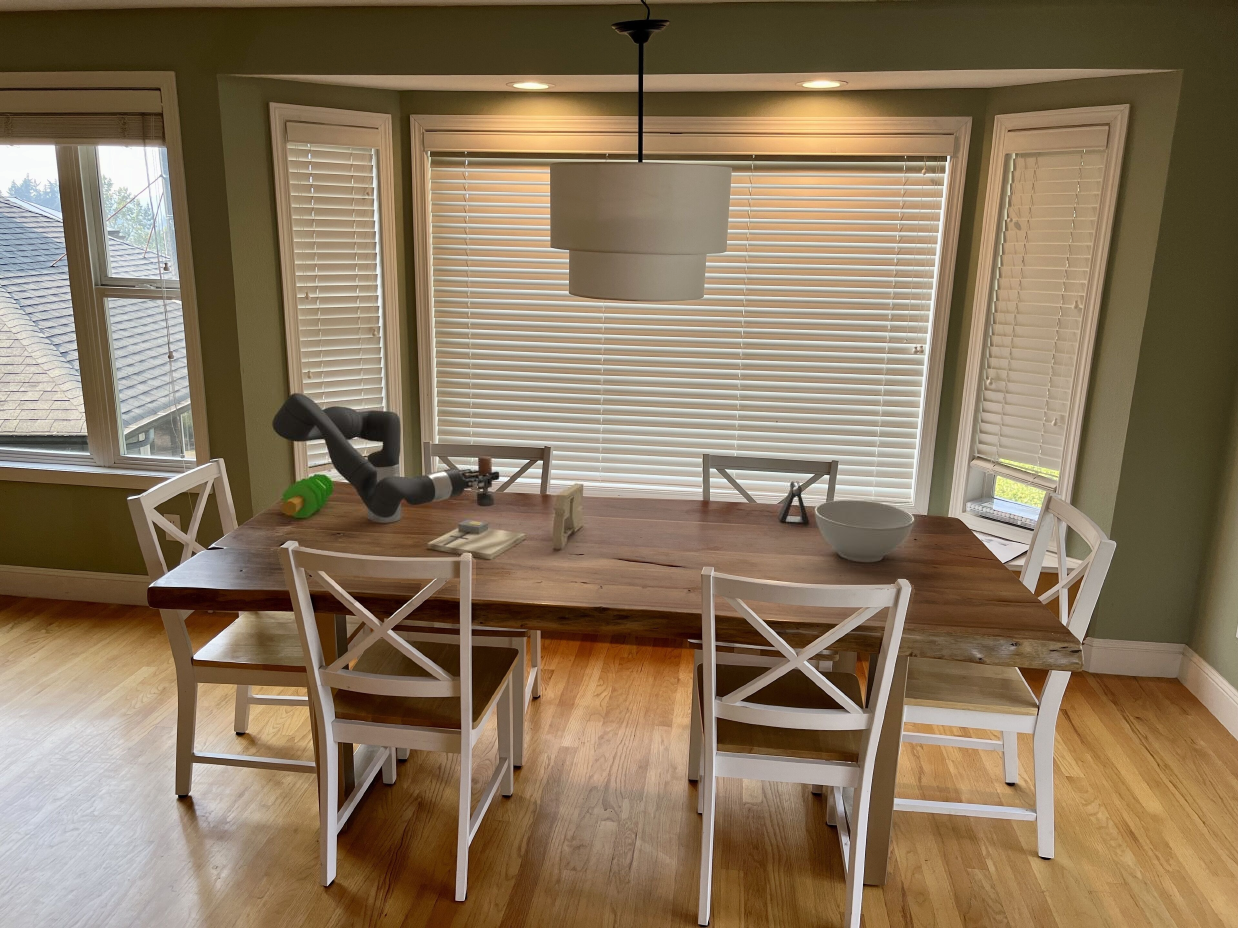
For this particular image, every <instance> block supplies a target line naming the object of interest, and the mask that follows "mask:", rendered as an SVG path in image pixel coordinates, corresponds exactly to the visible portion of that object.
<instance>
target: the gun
mask: <svg viewBox="0 0 1238 928" xmlns="http://www.w3.org/2000/svg"><path fill="white" fill-rule="evenodd" d="M582 498H584V483H578V482H576V483H574V484H572V485H571V486H570V487H568V488H566V489H564V490H562V491H561V492H560V491H559V493H558V494H556V497H555V502H554V505H553V511H555V512H554V518H553V526H552V533H551V534H552V535H551V536H552V546H553V547H552V548H553V549H555V550H563V549H564V548H565V546H566V544H567V542H568V537H569V536H570V535H571V534H575V533H576V532H577V531H578V530H579V529H580V528H582V526H584V522H583V506H582Z"/></svg>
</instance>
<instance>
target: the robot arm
mask: <svg viewBox="0 0 1238 928" xmlns="http://www.w3.org/2000/svg"><path fill="white" fill-rule="evenodd" d="M271 425H272V428H273V430H274V433H276V434H277V435H278V436H280V437H281V438H283V439H284V440H288V441H290V442H291V441H292V442H298V443H300V442H302V443H303V442H310V441H315V440H324V442H325V445H326V448H327V452H328V455H329V459H330V461H331V463H332V466H333V467H334V469H335V470H336V472H338V473H339V475H340V476H342V477H343V478H344V480H346V481H347V482H348V483H349V484H350V485H351V486H352V487H353V488H354V489H355V492H357V494H358V496H359V497H360V499H361V500H362V502H363V503H364V505H365V506H366V516H367V519H368V520H370V521H371V522H373V523H380V524H382V523H383V524H384V523H385V524H386V523H388V524H389V523H395V522H397V521H399V520H401V519H402V505H401V504H402V500H404V501H406V503H407V504H409V505H411V506H417V505H422V504H426V503H431V502H441V501H444V500H448V499H453V498H457V497H460V496H461V495H462V494H463V493H464V491H465V490H470V489H473V488H477V490H479V491H480V490H481V491H482V490H483V489H484V488H486V487H488V486H490V485H492V486H493V482H494V481H498V480H500V472H499V471H497V470H496V471H492V472H491V473H486V474H480V473H478V469H470V468H467V469H457V468H447V469H444V470H443V469H442V470H438V471H433V472H429V473H426V474H424V475H418V476H414V477H406V476H401V475H400V472H401V471H400V456H401V433H402V432H401V420H400V417H399V415H398V413H397V412H395V411H385V410H372V409H371V410H364V411H357V410H356V409H354V408H351V407H346V406H338V405H337V406H334V405H333V406H328V407H325V408H324V409H322V408H321V407H320V406H319V405H318V404H317V403H316V402H315V400H313V399H312V398H310V397H309V396H307V395H305V394H302V393H298V392H294V393H291V394H290V395H289V396H288V397H287V399H286V400H285V402H284V403H283V404H282V405H281V407H280V408H279V410H278V411H277V412H276V413H275V416H274V417H273V419H272V424H271ZM356 438H358V439H361V440H365V441H369V442H377V443H382V447H381V449H380V450H377V451H375V452H371V453H369V454H368V455H367V458H366V457H365V456H363V454H361V453H360V452H359V451H358V450H357V449H356V448H355V447H354V446H353V445H352V444H351V443H350V442H349V441H350V440H353V439H356ZM482 477H483V478H482ZM491 481H492V483H491Z"/></svg>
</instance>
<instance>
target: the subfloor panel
mask: <svg viewBox="0 0 1238 928" xmlns="http://www.w3.org/2000/svg"><path fill="white" fill-rule="evenodd" d="M525 539H526V534H525V533H520V532H513V531H507V530H502V529H496V528H489V527H488V530H486V531H484V532H482V533H480V534H476V533H470V532H464V531H458V527H456V528H455V529H453V530H451V531H449V532H447V533H445V534H443V535H441V536H439V537H438V538H436V539H434V540H431V541H429V542H427V549H430V550H436V551H441V552H446V553H452V554H459V555H463V553H465V552H468V553H471V554H472V555H473V556H472V557H474V558H479V559H487V560H492V559H494V558H496V557H497V556H499V555H501V554H502V553H504V552H506V551H508V550H509V549H511V548H513V547H514V546H516V545H517V544H519V543H521V542H523V541H524V540H525Z"/></svg>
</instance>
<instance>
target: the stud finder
mask: <svg viewBox="0 0 1238 928" xmlns="http://www.w3.org/2000/svg"><path fill="white" fill-rule="evenodd" d="M457 528H458V531H464V532H470V533H476V534H480V533H482V532H484V531H486V530H488V528H489V522H487V521H481V520H473V519H467V518H466V519H465V520H463V521H461V522H458V524H457Z"/></svg>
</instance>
